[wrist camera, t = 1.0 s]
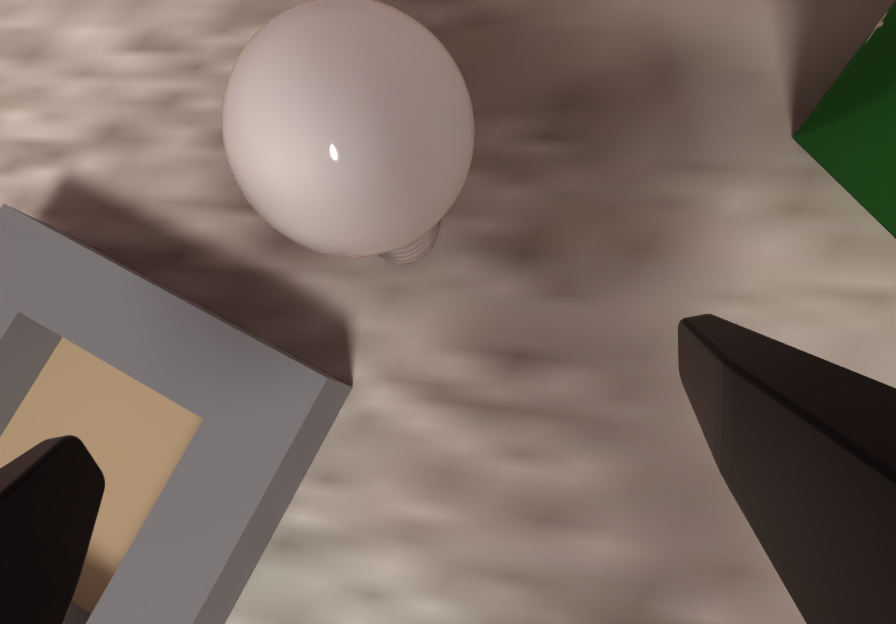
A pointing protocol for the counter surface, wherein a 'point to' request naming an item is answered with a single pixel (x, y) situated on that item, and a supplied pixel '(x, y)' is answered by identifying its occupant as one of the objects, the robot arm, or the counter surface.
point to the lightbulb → (349, 129)
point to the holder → (153, 424)
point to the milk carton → (861, 125)
